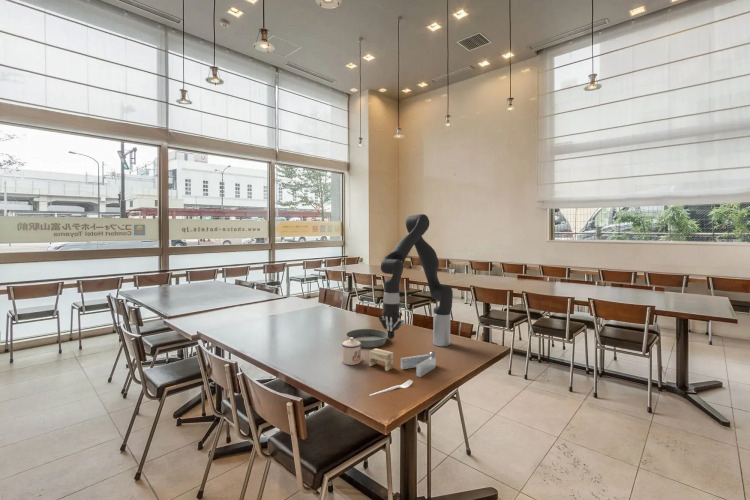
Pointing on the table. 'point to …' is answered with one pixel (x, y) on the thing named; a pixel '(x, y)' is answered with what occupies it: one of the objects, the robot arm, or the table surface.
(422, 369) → the fixed jaw
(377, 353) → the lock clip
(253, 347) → the table surface
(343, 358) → the teacup with lid
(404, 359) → the moving jaw
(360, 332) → the cake pan
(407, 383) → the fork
